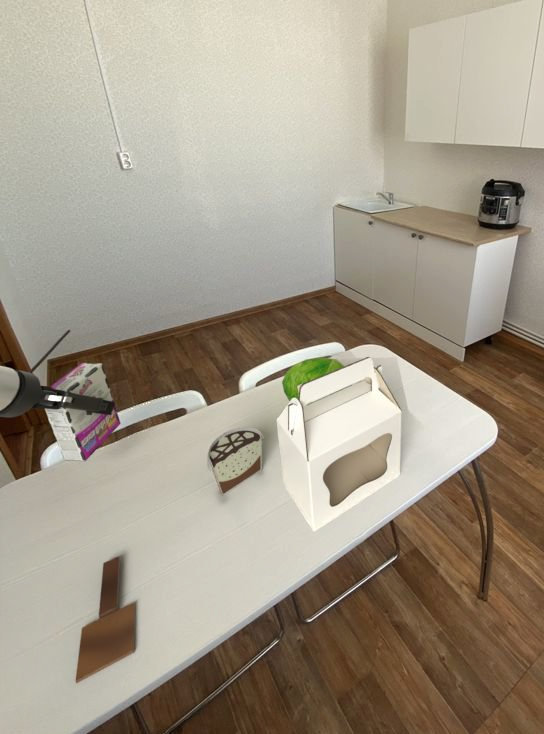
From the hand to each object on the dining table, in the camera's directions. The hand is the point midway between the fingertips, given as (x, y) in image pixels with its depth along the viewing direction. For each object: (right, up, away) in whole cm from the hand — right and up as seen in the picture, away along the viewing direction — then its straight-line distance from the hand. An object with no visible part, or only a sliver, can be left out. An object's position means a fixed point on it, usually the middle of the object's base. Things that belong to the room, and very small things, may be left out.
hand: (99, 407), depth 84 cm
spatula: (+17, -24, -22) cm, 37 cm away
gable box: (+54, -16, -1) cm, 56 cm away
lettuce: (+46, -7, +22) cm, 52 cm away
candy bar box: (0, -7, -1) cm, 7 cm away
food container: (+30, -15, +1) cm, 33 cm away
